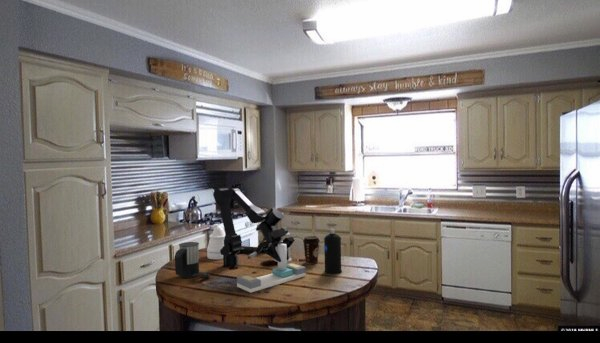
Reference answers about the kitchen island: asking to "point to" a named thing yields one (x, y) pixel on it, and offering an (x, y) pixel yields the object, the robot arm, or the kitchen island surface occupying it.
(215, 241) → the white jug
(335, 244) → the aerosol can
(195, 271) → the milk frother
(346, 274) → the kitchen island surface
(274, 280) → the rail
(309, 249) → the coffee cup
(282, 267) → the carriage
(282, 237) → the french press
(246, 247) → the door handle
